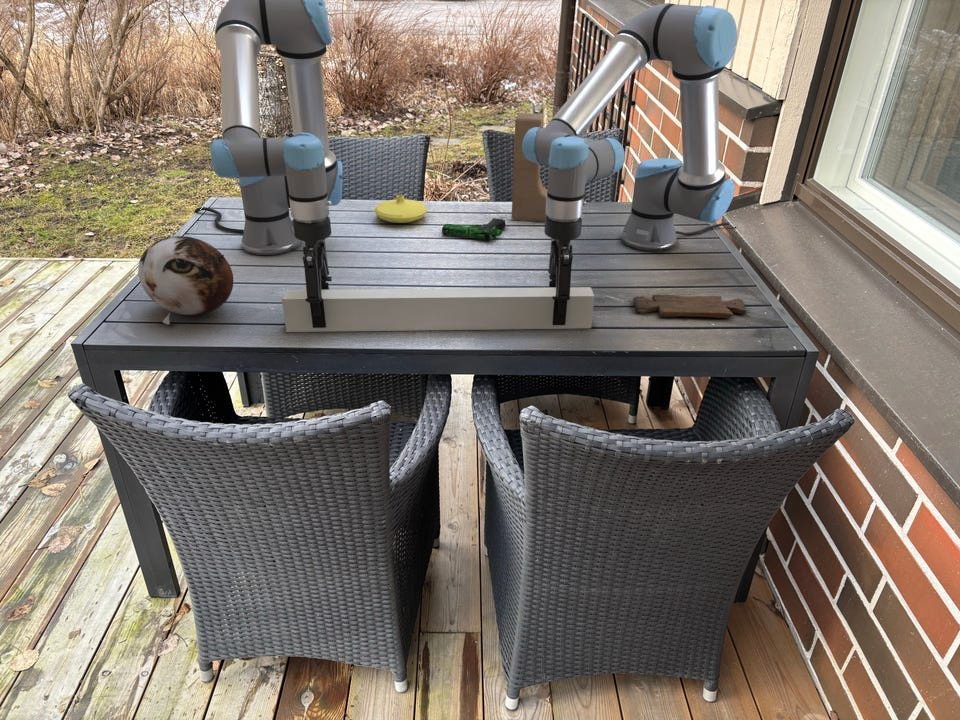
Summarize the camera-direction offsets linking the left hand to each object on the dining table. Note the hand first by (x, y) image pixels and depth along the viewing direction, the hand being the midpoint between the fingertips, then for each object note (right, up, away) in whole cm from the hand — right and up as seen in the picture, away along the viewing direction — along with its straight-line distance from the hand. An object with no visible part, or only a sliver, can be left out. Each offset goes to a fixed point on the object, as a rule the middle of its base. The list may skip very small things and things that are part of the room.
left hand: (322, 318), depth 156 cm
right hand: (+51, +1, +2) cm, 51 cm away
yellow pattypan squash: (+11, +33, +61) cm, 70 cm away
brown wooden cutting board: (+83, +3, +11) cm, 84 cm away
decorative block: (+52, +34, +63) cm, 89 cm away
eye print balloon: (-31, +2, +7) cm, 31 cm away
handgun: (+33, +28, +52) cm, 68 cm away
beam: (+26, -1, +2) cm, 26 cm away
